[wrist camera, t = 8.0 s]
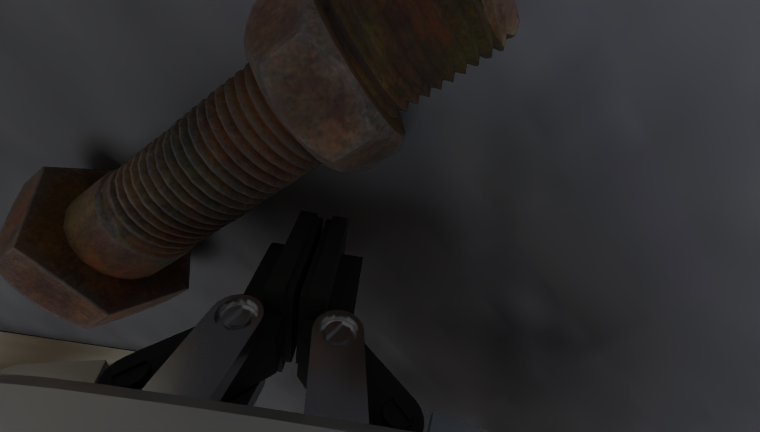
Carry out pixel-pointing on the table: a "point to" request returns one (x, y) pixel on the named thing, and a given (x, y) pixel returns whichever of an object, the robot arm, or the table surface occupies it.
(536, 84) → the table surface
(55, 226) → the bolt
